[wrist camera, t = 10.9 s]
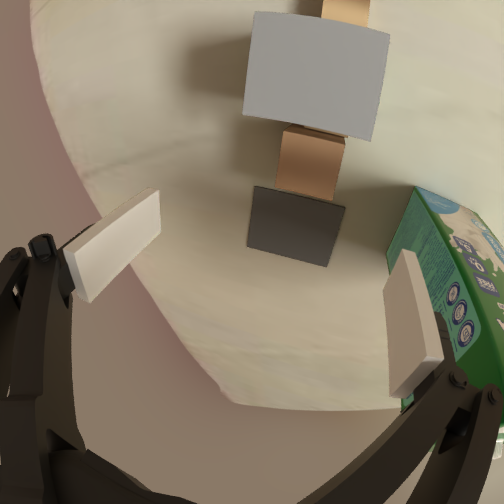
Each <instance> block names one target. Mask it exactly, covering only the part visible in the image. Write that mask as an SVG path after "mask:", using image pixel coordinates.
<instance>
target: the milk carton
mask: <svg viewBox="0 0 504 504" xmlns="http://www.w3.org/2000/svg"><path fill="white" fill-rule="evenodd" d="M402 249H405V250H409V251H412V252H415V254H416V257H417V259H418V262H419V265H420V268H421V271H422V274H423V277H424V281H425V284H426V287H427V290H428V294H429V297H430V301H431V304H432V308H433V311H435V312H440V313H441V315H442V316H443V318H444V319H445V321H446V324H447V327H448V333H449V335H450V340H451V343H452V347H453V351H454V356H455V361H456V365H457V366H459V367H460V368H461V369H463V370H464V372H465V373H466V374H467V377H468V379H469V384H471V385H473V386H475V387H477V388H479V389H482V388H483V387H484V386H485V385H487V384H488V383H492V384H495V385H496V386H497V387H498V388H499V389H500V390H501V392H502V395H503V410H502V416H501V422H500V427H499V432H498V437H497V441H496V446H495V450H494V454H493V457H492V460H493V459H497V458H500V457H501V454H502V445H503V444H504V248H503V246H502V245H501V243H500V242H499V241H498V239H497V238H496V237H495V235H494V234H493V233H492V231H491V230H490V229H489V228H488V226H487V225H486V224H485V223H484V221H483V220H482V219H481V218H480V217H479V215H478V214H477V213H475V212H473V211H471V210H469V209H466V208H464V207H462V206H460V205H458V204H456V203H454V202H452V201H449V200H447V199H445V198H443V197H441V196H438V195H436V194H434V193H431V192H429V191H427V190H424V189H422V188H419V187H417V186H415V188H414V190H413V193H412V196H411V198H410V201H409V203H408V205H407V208H406V210H405V213H404V215H403V217H402V220H401V222H400V224H399V227H398V229H397V231H396V233H395V236H394V238H393V240H392V242H391V244H390V246H389V248H388V251H387V253H386V259H387V264H388V269H389V275H390V274H391V272H392V270H393V268H394V266H395V264H396V261H397V259H398V257H399V255H400V252H401V250H402ZM413 400H414V396H413V392H412V393H411V394H410V395H409V396H408V397H407V398H406V399H402V398H401V411H402V410H403V409H404V408H405V407H406V406H407V405H408V404H410V403H411V402H412V401H413ZM436 442H437V440H436ZM436 442H435V443H434V445H433V446H432V447H431V449H430V450H429V451H428V452H432V451H433V449H434V447H435V444H436Z"/></svg>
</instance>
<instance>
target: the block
mask: <svg viewBox="0 0 504 504" xmlns="http://www.w3.org/2000/svg"><path fill="white" fill-rule="evenodd" d="M304 126H305V125H300V124H295V123H293V124H292V125H290V126H289V127H288V128H287V129H285V130H284V131H283V137H282V143H281V150H280V156H279V163H278V169H277V175H276V182H275V187H276V188H281V189H285V190H289V191H293V192H298V193H302V194H306V195H310V196H314V197H318V198H322V199H326V200H330V201H332V198H333V194H334V190H335V186H336V182H337V178H338V174H339V170H340V166H341V161H342V157H343V153H344V148H345V140H344V137H342V136H339V135H335V134H330V133H326V132H322V131H318V130H313V129H309V128H304Z"/></svg>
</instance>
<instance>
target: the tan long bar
mask: <svg viewBox="0 0 504 504" xmlns="http://www.w3.org/2000/svg"><path fill="white" fill-rule="evenodd" d="M369 7H370V0H323V7H322V15H321V18H325V19H330V20H336V21H341V22H345V23H350V24H354V25H358V26H362V27H366V28H367V24H368V16H369ZM304 128H309V129H313V130H318V131H322V132H326V133H330V134H335V135H339V136H342V137H346V138H348V135H344V134H340V133H336V132H332V131H328V130H323V129H319V128H314V127H310V126H304Z"/></svg>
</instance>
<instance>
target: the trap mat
mask: <svg viewBox="0 0 504 504" xmlns="http://www.w3.org/2000/svg"><path fill="white" fill-rule="evenodd" d="M344 210H345V207H341V206H337V205H333V204H329V203H326V202H322V201H318V200H314V199H310V198H306V197H302V196H297V195H293V194H289V193H285V192H280V191H276V190H271V189H267V188H262V187H258V186H255V189H254V197H253V205H252V213H251V221H250V229H249V237H248V245H247V247H250V248H254V249H258V250H262V251H266V252H269V253H273V254H277V255H281V256H285V257H289V258H293V259H296V260H300V261H304V262H308V263H312V264H316V265H319V266H323V267H327V265H328V262H329V259H330V256H331V252H332V249H333V246H334V243H335V240H336V237H337V233H338V230H339V227H340V223H341V220H342V217H343V213H344Z"/></svg>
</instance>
